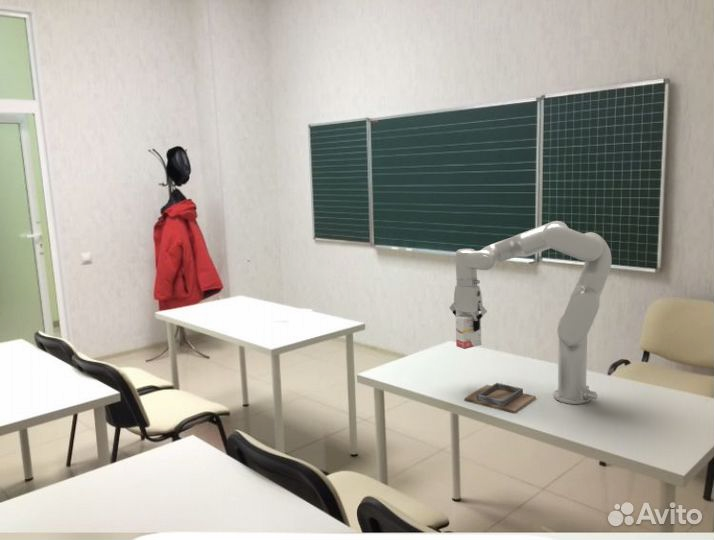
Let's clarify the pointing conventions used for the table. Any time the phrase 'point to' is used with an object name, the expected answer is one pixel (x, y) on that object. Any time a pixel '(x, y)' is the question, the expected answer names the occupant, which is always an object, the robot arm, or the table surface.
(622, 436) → the table surface
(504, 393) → the dock
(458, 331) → the ink cartridge box
